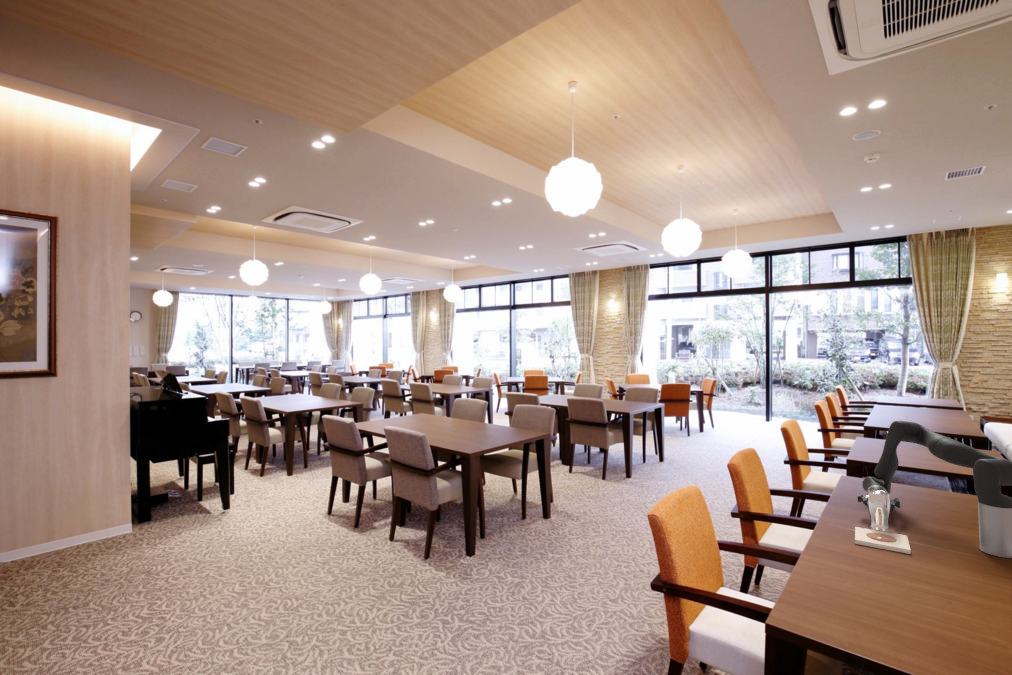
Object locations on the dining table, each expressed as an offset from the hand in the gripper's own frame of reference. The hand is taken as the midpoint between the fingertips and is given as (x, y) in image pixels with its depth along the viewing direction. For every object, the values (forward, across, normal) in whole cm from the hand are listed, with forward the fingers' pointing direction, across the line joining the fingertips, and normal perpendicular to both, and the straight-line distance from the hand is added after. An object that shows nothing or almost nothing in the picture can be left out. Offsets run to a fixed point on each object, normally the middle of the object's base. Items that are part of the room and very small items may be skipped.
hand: (878, 504), depth 197 cm
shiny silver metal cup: (+7, 0, +8) cm, 11 cm away
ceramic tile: (+22, 0, +8) cm, 24 cm away
